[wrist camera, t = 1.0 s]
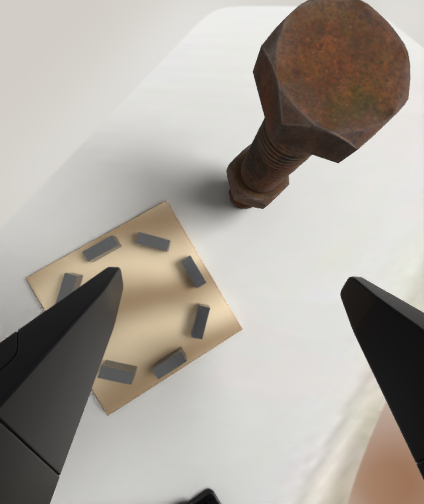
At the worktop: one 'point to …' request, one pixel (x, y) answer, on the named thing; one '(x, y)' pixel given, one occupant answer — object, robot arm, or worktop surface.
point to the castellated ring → (172, 360)
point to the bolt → (319, 93)
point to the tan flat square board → (146, 302)
